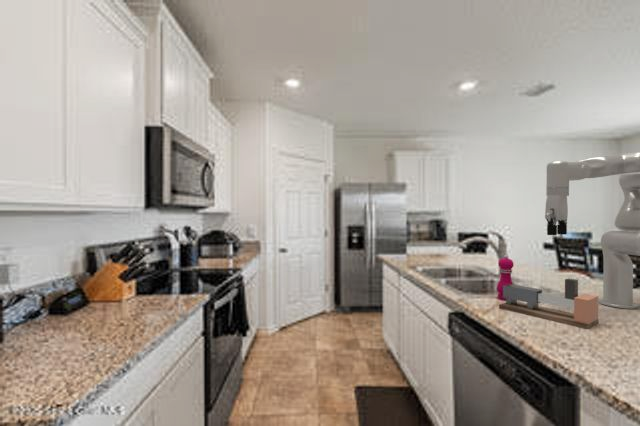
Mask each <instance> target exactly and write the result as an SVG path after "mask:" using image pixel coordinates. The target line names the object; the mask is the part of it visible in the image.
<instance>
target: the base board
mask: <svg viewBox="0 0 640 426" xmlns="http://www.w3.org/2000/svg"><path fill="white" fill-rule="evenodd" d="M498 306H499V307H498V309H502V310H506V311H510V312H514V313H517V314H522V315H527V316H531V317H535V318H540V319H544V320H548V321H552V322H556V323H561V324H564V325H569V326H573V327H577V328H582V329H590V328H592V327H593V326H596V325H598V324H599V320H600V319H599V318H598V319H597V320H595V321H593V322H591V323H589V324H585V323H580V322H576V321H574V312H573V313H572V312H569V311H565V310H564V311H562V310H558V309H554V308H550V307H544V306H540V305H538V308H537V309H534V310H530V309H527V302H522V301H517V304H513V305H508V304H506V302H503V303H501V304H499V305H498Z"/></svg>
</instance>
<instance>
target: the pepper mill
mask: <svg viewBox="0 0 640 426" xmlns="http://www.w3.org/2000/svg"><path fill="white" fill-rule="evenodd" d="M514 265H515V264H514V261H513V260H512V259H511V258H509V256H508V255H507V254H504V255H503V257H502V258H500V259H499V260H498V267H499V273H500V278H499V281H498V283H497V286H496V291H497V292H498V294H497V299H498V300H501V301H506V298H504V297H503V285H507V284H513V285H514V283H513V281H512V273H513V269H512V268H513V267H514Z"/></svg>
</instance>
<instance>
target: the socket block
mask: <svg viewBox="0 0 640 426" xmlns="http://www.w3.org/2000/svg"><path fill="white" fill-rule="evenodd" d="M598 300H599V296H598V295H593V294H588V293H584V294H582V295H578V297H575V298H574V309H573V313H574V321H576V322H580V323H585V324H589V323H591V322H593V321H595V320H597V319H599V302H598Z"/></svg>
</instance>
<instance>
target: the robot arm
mask: <svg viewBox="0 0 640 426" xmlns="http://www.w3.org/2000/svg"><path fill="white" fill-rule="evenodd" d="M616 175H619V178H618V183H619V186H620V188H621V190H622V193H623V197H624V199H623V202H622V205H621V207H620V209H619V211H618V213H617V215H616V217H615V219H614V226H615V227H616V228H617V229H618V230H610V231H606V232H605V233H604V234H602V235H601V237H600V245H601V250H602V255H603V257H602V258H603V275H602V276H603V277H602V279H603V280H602V284H603V286H602V298H598V304H599V305H600V304H601V305H603V306H607V307H612V308H619V309H628V310H631V309H632V310H634V309H638V304H637V303H635V302H633V301H634V299H633V298H634V297H633V296H634V291H633V290H634V264H633V261H632V258H631V257H630V256H638V257H639V256H640V150H638V151H632V152H631V151H630V152H624V153H617V154H610V155H605V156H597V157H591V158H587V159H586V158H585V159H583V160H576V161H563V160H558V161H551V162H547V165H546V193H545V195H546V201H545V211H544V212H545V213H544V219H545V220H546V227H547V228H546V233H547V236H558V235H564V236H565V235H567V233H568V229H567V228H568V225H567V224H568V212H569V211H568V209H569V207H568V206H569V205H568V197H569V196H570V182H571V181H581V180H585V179H595V178H596V179H597V178H603V177H604V178H605V177H609V176H616Z"/></svg>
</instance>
